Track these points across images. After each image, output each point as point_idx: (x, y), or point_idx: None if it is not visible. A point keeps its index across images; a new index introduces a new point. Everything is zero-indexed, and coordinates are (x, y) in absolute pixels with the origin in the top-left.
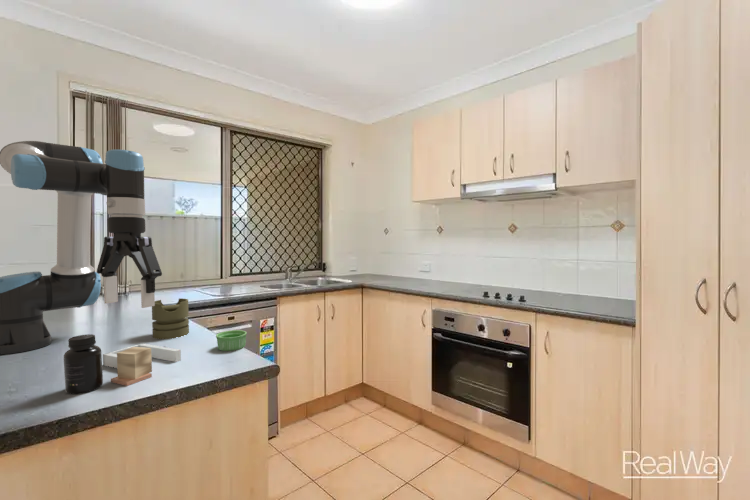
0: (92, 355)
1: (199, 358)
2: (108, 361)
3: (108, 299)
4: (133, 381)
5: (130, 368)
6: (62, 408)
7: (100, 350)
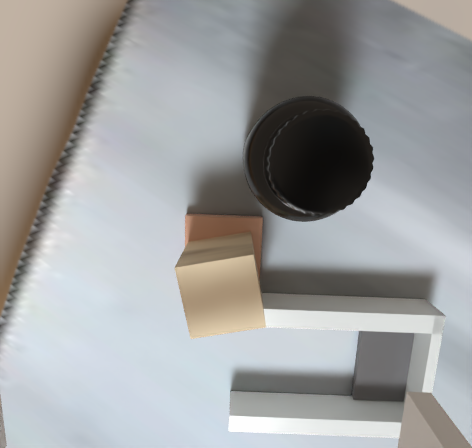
0: (244, 160)
1: (191, 434)
2: (404, 305)
3: (419, 428)
4: (185, 233)
5: (200, 248)
6: (200, 44)
7: (261, 203)
